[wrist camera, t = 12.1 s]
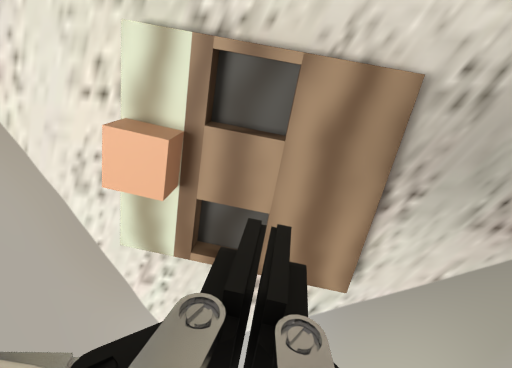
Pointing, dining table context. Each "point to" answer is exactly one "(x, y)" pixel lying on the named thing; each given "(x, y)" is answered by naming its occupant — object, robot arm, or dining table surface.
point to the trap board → (262, 146)
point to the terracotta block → (141, 158)
